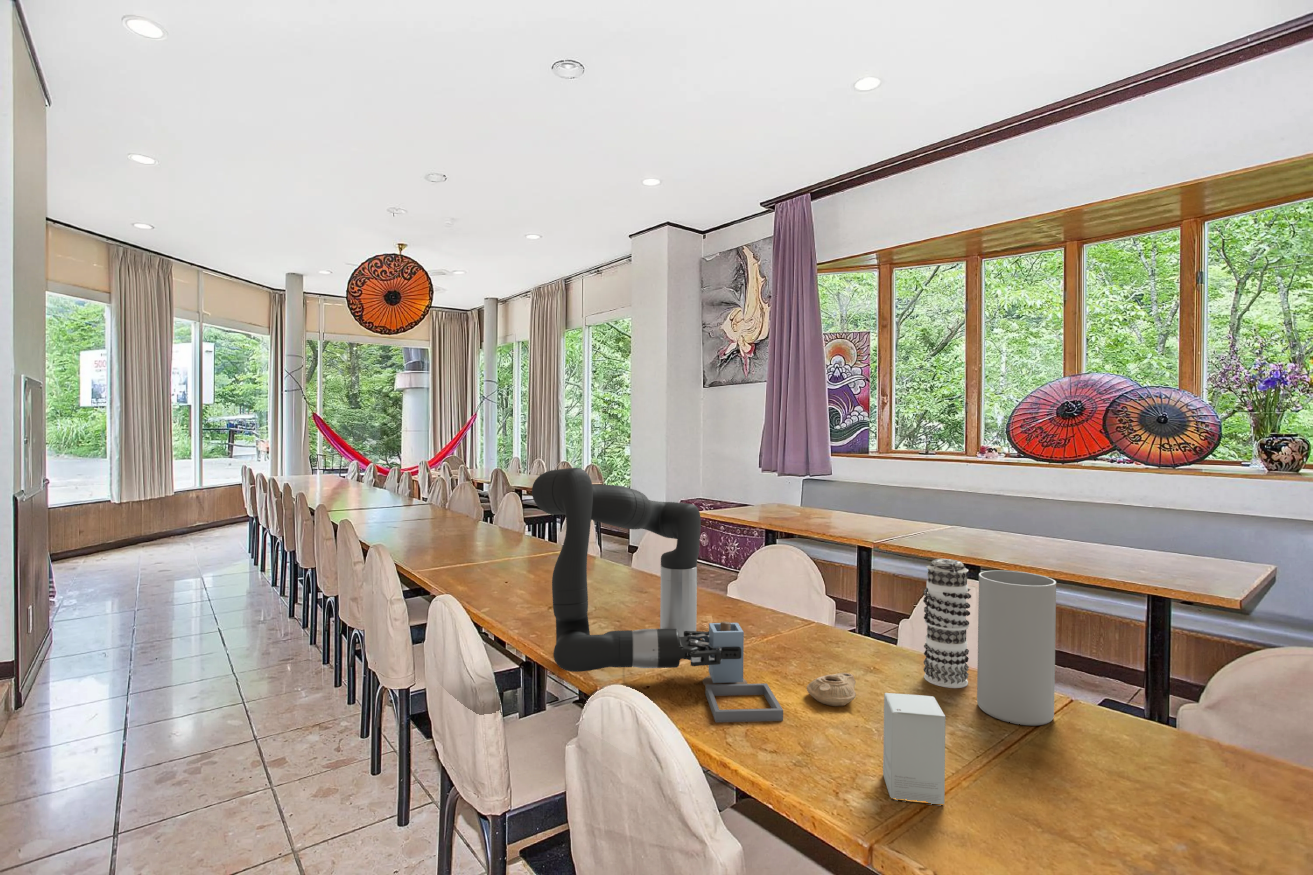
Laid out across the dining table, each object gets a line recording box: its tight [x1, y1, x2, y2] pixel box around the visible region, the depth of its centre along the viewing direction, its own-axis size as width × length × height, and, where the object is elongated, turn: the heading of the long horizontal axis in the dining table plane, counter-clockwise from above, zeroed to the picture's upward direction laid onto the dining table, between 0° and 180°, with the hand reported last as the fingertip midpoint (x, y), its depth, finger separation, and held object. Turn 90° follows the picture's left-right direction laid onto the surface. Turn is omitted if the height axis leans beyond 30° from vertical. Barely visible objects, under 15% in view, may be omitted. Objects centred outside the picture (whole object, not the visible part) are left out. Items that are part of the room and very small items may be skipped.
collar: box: [708, 622, 745, 683], centre depth 131 cm, size 6×6×10 cm
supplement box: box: [882, 692, 946, 805], centre depth 94 cm, size 7×7×13 cm
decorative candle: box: [922, 558, 972, 689], centre depth 135 cm, size 9×9×25 cm
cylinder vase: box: [976, 570, 1057, 726], centre depth 120 cm, size 12×12×25 cm
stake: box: [702, 621, 748, 687], centre depth 131 cm, size 9×9×13 cm
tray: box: [704, 683, 784, 723], centre depth 119 cm, size 12×12×3 cm
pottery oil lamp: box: [806, 672, 857, 707], centre depth 124 cm, size 9×12×7 cm
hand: (737, 646), depth 131 cm, fingers closed on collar, 6 cm apart
